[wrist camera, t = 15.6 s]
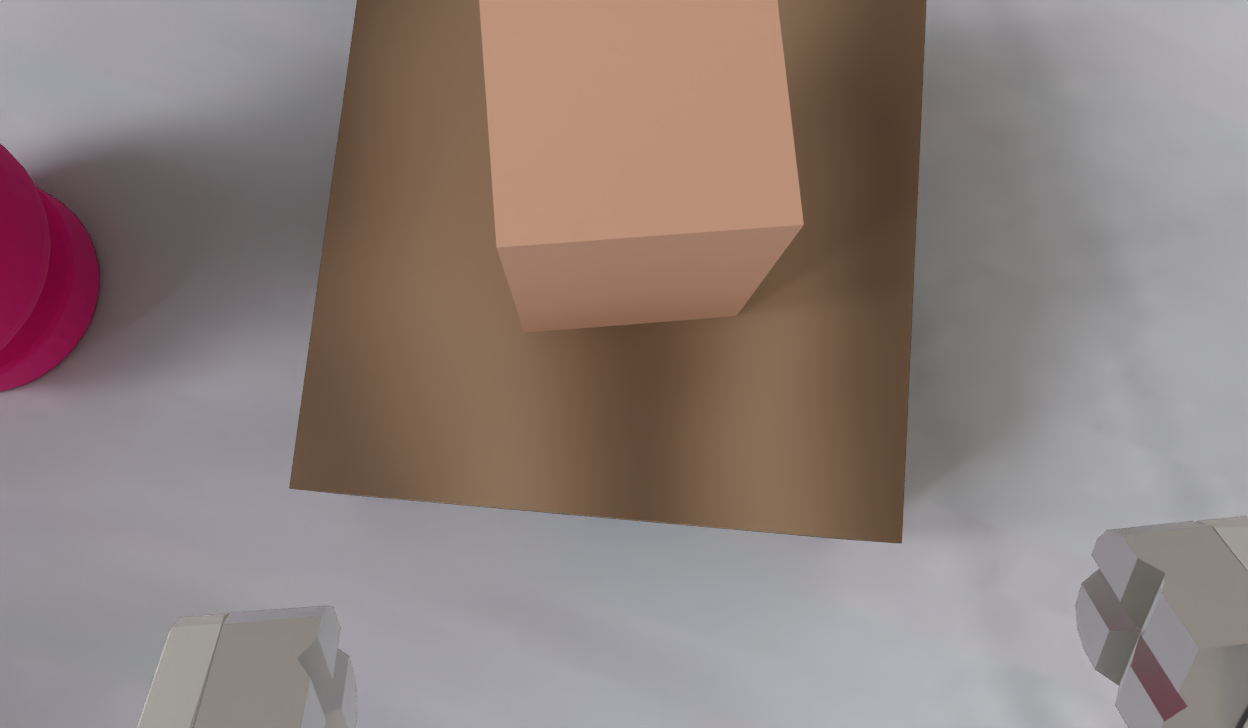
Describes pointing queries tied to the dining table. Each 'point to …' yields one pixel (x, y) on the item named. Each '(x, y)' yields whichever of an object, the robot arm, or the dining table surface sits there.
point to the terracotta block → (637, 156)
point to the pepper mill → (40, 277)
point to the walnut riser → (625, 354)
